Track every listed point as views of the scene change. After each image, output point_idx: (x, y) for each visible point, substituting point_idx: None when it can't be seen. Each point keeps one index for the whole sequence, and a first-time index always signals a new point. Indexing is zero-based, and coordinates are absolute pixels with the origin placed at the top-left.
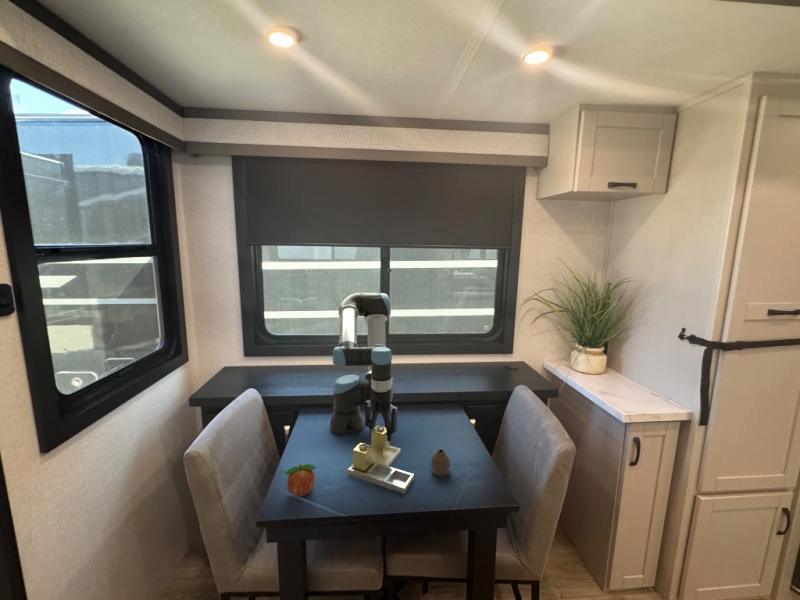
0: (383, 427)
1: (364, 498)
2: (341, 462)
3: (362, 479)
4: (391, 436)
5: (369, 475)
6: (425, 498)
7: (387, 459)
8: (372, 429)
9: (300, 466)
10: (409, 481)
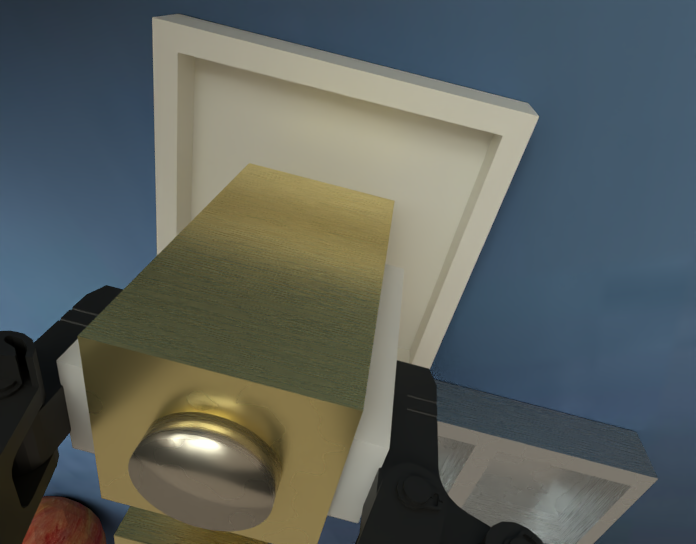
0: (240, 464)
1: (351, 531)
2: None
3: None
4: (435, 421)
5: None
6: (692, 532)
7: (400, 261)
8: (74, 432)
9: None
10: (610, 519)
